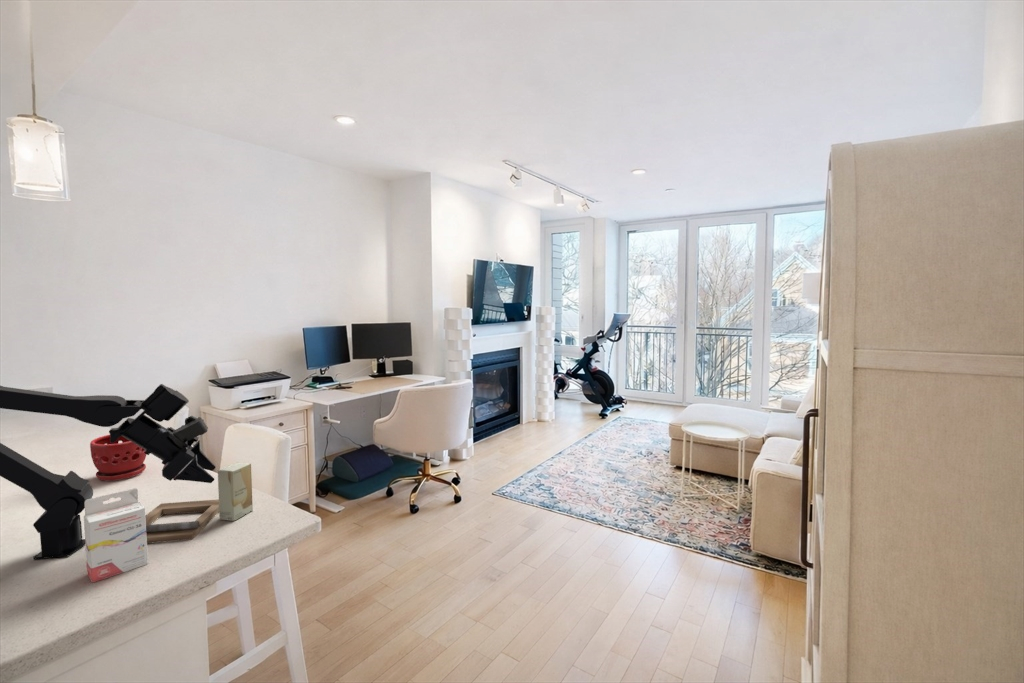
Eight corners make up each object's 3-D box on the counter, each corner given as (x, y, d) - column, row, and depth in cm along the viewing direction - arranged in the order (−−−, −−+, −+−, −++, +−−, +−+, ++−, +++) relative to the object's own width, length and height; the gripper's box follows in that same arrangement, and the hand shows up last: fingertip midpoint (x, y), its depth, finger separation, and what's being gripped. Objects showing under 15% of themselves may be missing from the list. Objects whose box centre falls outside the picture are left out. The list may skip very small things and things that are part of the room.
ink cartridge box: (91, 584, 85) (85, 507, 84) (86, 574, 88) (81, 500, 87) (149, 564, 92) (144, 492, 90) (142, 555, 95) (138, 486, 93)
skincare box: (234, 521, 109) (231, 471, 108) (218, 520, 110) (215, 470, 109) (254, 510, 116) (252, 462, 115) (239, 508, 116) (237, 461, 115)
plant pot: (81, 482, 134) (77, 441, 133) (128, 466, 147) (125, 429, 146) (115, 486, 131) (112, 445, 130) (160, 470, 144) (158, 432, 143)
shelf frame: (192, 539, 101) (191, 526, 101) (114, 545, 98) (113, 533, 98) (226, 504, 119) (226, 493, 119) (161, 509, 116) (160, 498, 116)
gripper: (177, 417, 98) (240, 458, 104) (185, 401, 114) (239, 438, 120) (132, 460, 94) (201, 499, 101) (147, 437, 110) (205, 473, 117)
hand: (213, 474), depth 110 cm, fingers open, 9 cm apart
